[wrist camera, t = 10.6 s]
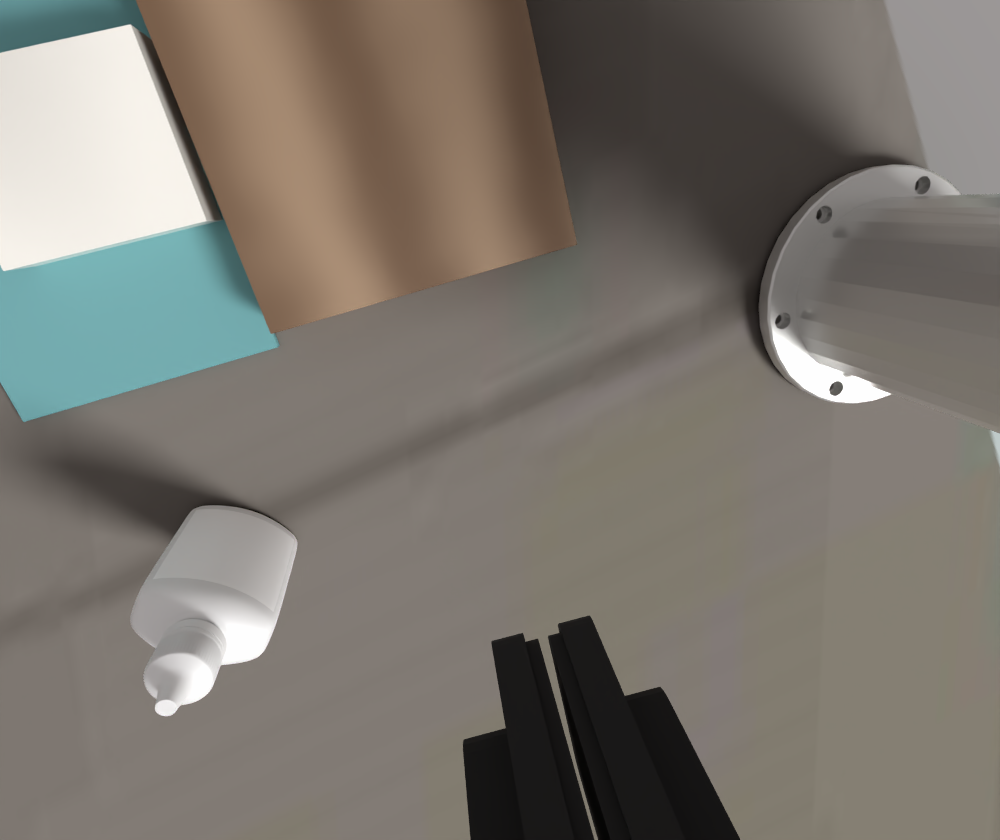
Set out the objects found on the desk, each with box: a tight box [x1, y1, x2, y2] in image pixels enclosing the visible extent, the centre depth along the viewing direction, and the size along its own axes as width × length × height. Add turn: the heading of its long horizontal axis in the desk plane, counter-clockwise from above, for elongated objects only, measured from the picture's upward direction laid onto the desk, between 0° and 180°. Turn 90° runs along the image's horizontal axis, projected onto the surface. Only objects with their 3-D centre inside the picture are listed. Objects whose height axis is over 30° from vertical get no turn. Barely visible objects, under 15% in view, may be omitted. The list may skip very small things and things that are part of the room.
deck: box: [136, 0, 577, 334], centre depth 26 cm, size 14×16×3 cm
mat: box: [0, 0, 279, 422], centre depth 26 cm, size 12×18×1 cm, turn 15°
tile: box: [0, 24, 222, 271], centre depth 24 cm, size 8×7×2 cm
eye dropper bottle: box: [130, 505, 297, 716], centre depth 27 cm, size 4×6×12 cm
